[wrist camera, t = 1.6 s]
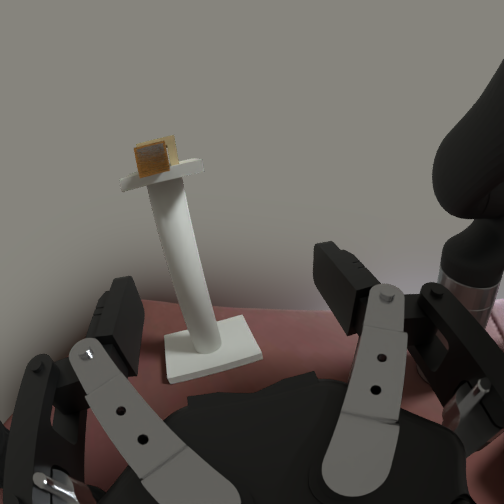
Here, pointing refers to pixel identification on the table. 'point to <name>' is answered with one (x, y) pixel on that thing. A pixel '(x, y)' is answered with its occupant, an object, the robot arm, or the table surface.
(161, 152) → the grey orange square rod
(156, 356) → the table surface
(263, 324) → the table surface
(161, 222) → the stand
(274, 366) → the table surface
